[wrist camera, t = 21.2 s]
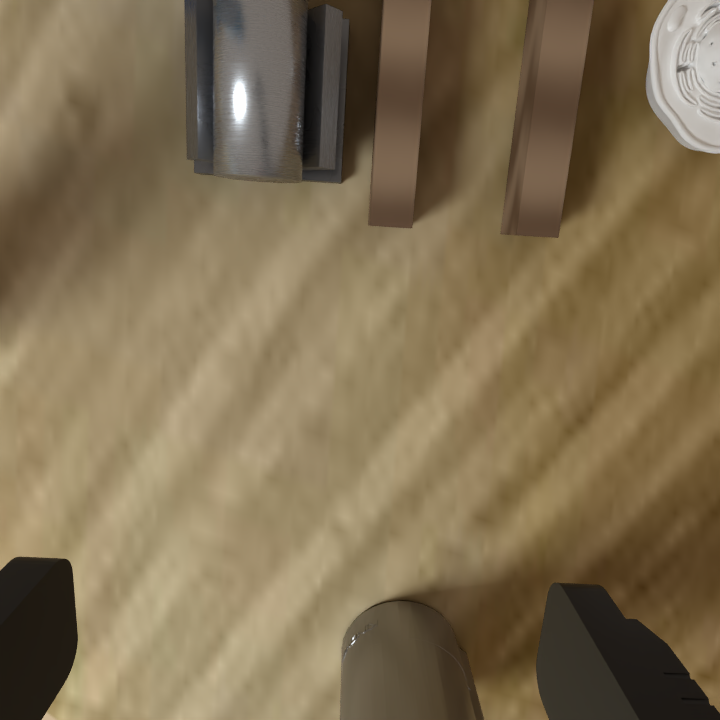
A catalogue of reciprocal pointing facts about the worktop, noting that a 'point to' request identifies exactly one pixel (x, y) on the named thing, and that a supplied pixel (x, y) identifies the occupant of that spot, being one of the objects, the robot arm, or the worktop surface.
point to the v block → (320, 90)
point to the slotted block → (532, 119)
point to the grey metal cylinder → (259, 89)
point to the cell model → (687, 72)
